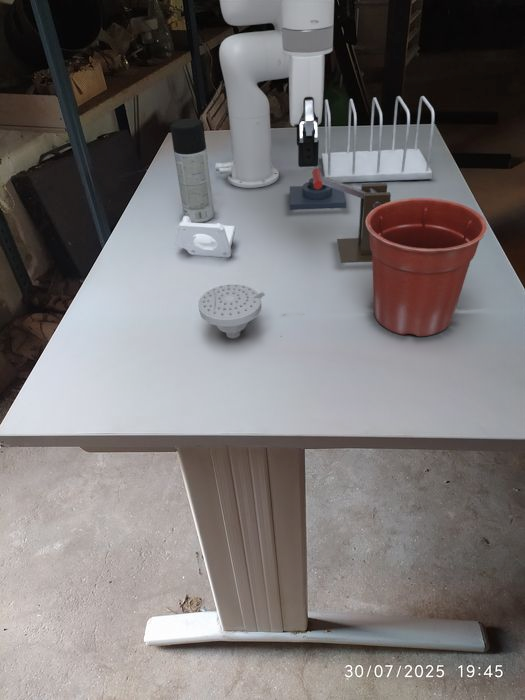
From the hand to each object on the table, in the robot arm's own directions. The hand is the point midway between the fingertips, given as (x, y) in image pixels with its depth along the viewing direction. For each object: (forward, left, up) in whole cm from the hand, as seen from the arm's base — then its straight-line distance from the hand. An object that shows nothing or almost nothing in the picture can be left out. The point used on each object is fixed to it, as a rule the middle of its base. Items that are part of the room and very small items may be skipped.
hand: (307, 155), depth 91 cm
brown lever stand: (+12, 0, -19) cm, 23 cm away
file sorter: (+18, +43, -19) cm, 50 cm away
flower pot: (+16, -20, -19) cm, 32 cm away
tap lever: (+7, 0, -7) cm, 10 cm away
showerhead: (-12, -24, -19) cm, 33 cm away
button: (+3, +24, -15) cm, 28 cm away
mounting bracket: (-20, +3, -19) cm, 28 cm away
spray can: (-23, +19, -19) cm, 35 cm away
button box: (+3, +24, -19) cm, 30 cm away
